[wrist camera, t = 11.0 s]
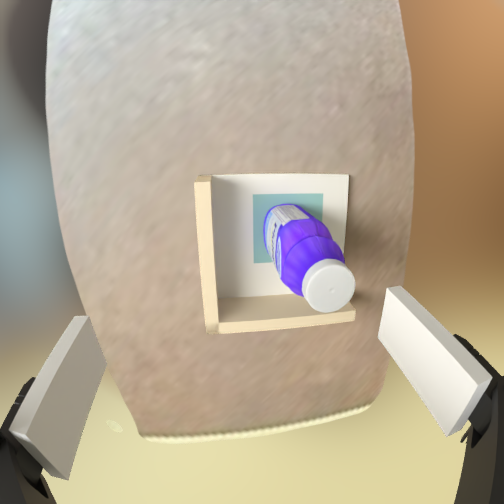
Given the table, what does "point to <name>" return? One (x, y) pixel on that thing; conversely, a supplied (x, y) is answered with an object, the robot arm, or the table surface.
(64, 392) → the robot arm
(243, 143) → the table surface
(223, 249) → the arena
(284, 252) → the bottle
